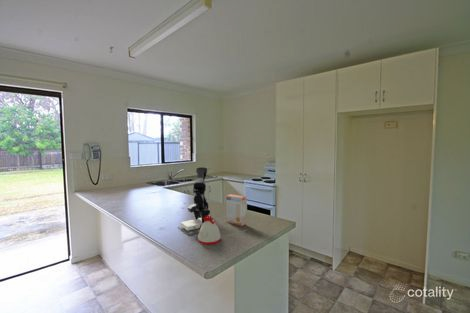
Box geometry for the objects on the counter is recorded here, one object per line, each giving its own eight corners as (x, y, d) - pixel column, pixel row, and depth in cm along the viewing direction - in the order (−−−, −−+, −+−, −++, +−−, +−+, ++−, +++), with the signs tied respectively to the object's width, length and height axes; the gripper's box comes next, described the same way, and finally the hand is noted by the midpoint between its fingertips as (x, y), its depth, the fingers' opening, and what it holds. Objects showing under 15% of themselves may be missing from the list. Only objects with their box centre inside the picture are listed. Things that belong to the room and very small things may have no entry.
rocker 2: (205, 219, 162) (205, 216, 162) (214, 224, 152) (214, 220, 152) (194, 222, 157) (194, 218, 157) (203, 227, 147) (203, 223, 147)
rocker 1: (192, 222, 156) (192, 219, 156) (200, 227, 146) (200, 224, 146) (180, 225, 150) (180, 221, 150) (188, 230, 140) (188, 227, 140)
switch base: (205, 221, 164) (205, 220, 164) (217, 228, 152) (217, 226, 152) (177, 228, 151) (177, 226, 151) (188, 236, 138) (187, 234, 138)
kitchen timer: (207, 233, 142) (207, 211, 142) (225, 238, 136) (224, 214, 135) (193, 241, 130) (192, 217, 130) (211, 247, 124) (211, 221, 123)
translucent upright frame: (246, 224, 159) (246, 196, 158) (241, 227, 154) (241, 197, 153) (231, 220, 167) (231, 193, 166) (226, 222, 163) (226, 195, 162)
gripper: (183, 198, 154) (183, 220, 155) (195, 204, 139) (195, 228, 140) (197, 196, 161) (197, 217, 162) (210, 201, 146) (210, 224, 147)
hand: (199, 221), depth 152 cm, fingers open, 9 cm apart
